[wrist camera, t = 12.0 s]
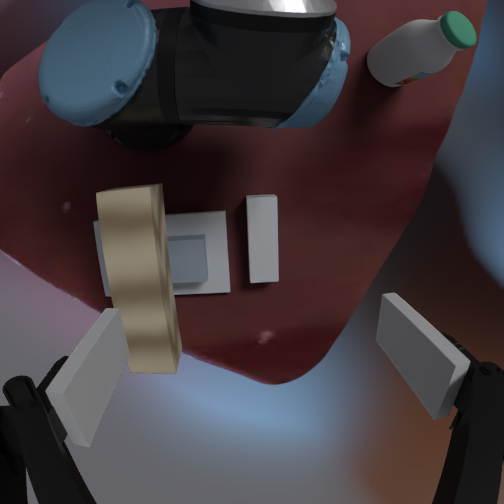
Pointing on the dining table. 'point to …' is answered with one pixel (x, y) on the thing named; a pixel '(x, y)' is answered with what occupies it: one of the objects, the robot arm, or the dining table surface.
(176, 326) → the pine batten
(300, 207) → the dining table surface
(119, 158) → the dining table surface
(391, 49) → the milk bottle
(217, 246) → the fulcrum stand
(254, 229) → the slab
